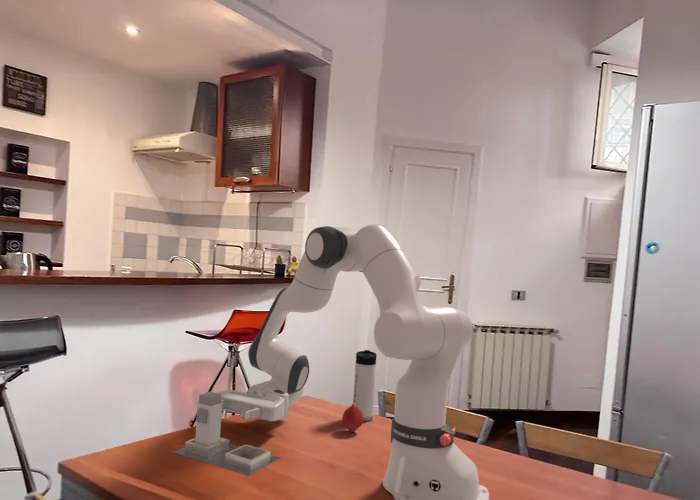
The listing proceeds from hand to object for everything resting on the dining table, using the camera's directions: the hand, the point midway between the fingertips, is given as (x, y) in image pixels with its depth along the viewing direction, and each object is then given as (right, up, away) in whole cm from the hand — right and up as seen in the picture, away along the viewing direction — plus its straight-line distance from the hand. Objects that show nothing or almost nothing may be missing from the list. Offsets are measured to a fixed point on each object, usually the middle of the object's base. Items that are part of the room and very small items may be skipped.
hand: (228, 411), depth 133 cm
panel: (+2, -8, -9) cm, 12 cm away
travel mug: (+34, -11, +28) cm, 46 cm away
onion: (+31, -10, +16) cm, 36 cm away
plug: (-4, -7, -6) cm, 10 cm away
